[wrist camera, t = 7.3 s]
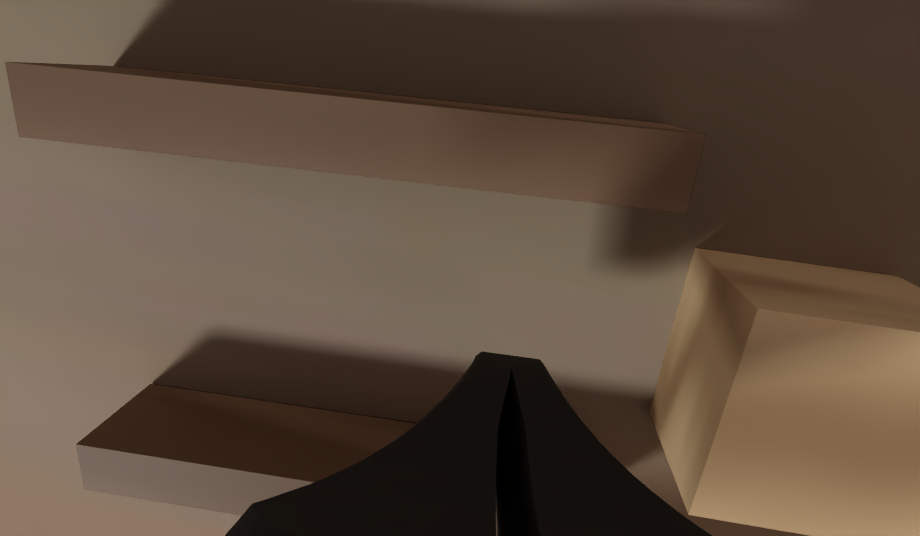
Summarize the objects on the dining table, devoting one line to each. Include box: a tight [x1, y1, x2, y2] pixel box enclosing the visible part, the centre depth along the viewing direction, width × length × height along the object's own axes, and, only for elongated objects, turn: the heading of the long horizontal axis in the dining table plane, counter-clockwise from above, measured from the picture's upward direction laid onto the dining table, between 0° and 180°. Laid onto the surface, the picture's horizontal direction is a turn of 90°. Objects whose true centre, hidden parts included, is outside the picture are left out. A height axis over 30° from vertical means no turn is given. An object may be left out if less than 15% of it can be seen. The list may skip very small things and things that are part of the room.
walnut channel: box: [5, 62, 706, 536], centre depth 14 cm, size 11×14×3 cm
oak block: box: [649, 248, 920, 536], centre depth 13 cm, size 5×5×4 cm
